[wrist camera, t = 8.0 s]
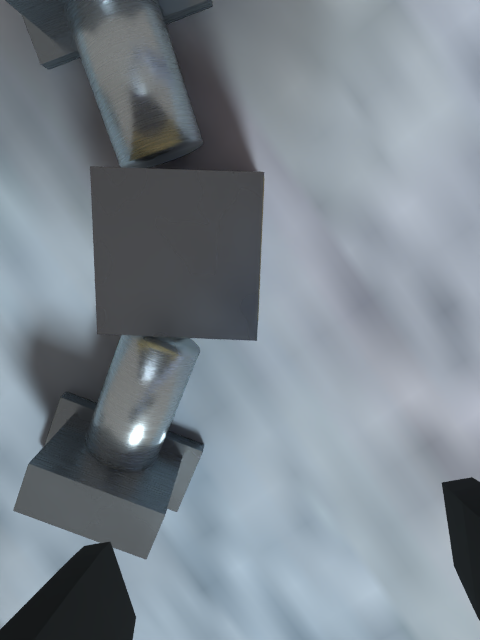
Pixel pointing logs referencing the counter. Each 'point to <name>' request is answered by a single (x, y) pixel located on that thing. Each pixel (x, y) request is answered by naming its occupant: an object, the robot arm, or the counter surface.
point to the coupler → (177, 252)
